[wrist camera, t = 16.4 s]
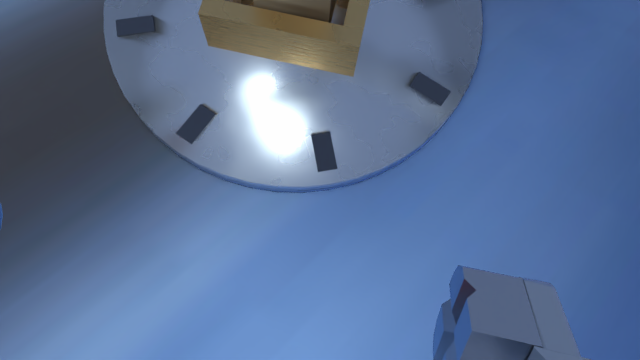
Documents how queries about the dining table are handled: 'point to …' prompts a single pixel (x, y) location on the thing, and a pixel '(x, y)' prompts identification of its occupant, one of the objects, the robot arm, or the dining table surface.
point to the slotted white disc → (293, 84)
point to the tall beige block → (301, 8)
